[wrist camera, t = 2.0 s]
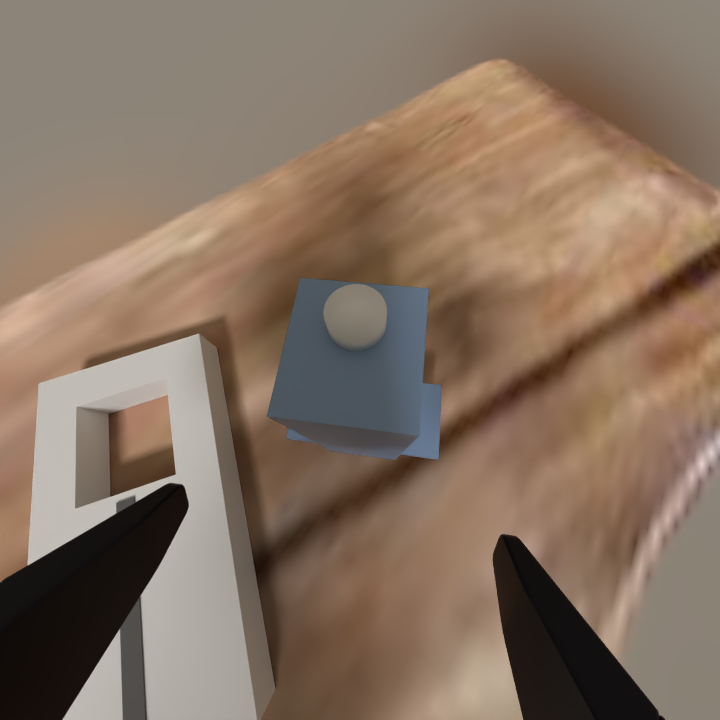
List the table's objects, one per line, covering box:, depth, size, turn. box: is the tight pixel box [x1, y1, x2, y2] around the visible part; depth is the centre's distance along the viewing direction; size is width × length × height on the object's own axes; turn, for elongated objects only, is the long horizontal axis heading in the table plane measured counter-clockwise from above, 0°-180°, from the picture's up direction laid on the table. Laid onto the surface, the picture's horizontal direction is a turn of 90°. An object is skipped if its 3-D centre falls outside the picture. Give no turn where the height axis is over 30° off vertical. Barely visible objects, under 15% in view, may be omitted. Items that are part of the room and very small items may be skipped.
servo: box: [267, 278, 442, 460], centre depth 15 cm, size 5×9×13 cm, turn 82°
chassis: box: [28, 334, 275, 720], centre depth 18 cm, size 21×11×3 cm, turn 18°
